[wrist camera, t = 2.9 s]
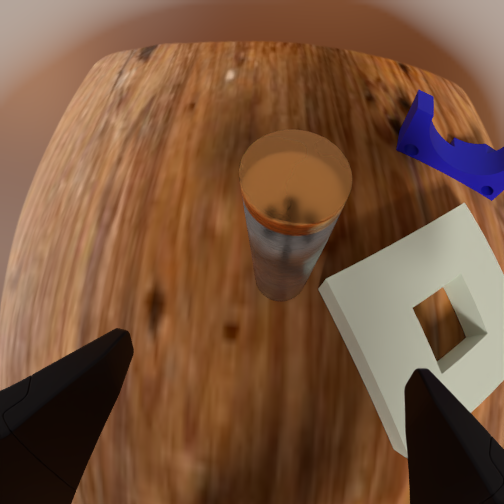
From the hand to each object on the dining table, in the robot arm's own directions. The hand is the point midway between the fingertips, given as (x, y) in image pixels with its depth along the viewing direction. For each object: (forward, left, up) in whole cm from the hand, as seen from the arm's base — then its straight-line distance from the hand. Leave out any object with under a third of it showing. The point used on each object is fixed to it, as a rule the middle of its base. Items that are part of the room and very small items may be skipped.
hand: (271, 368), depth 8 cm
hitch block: (+12, -4, -12) cm, 18 cm away
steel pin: (+3, +5, -12) cm, 13 cm away
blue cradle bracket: (+24, +8, -12) cm, 28 cm away
